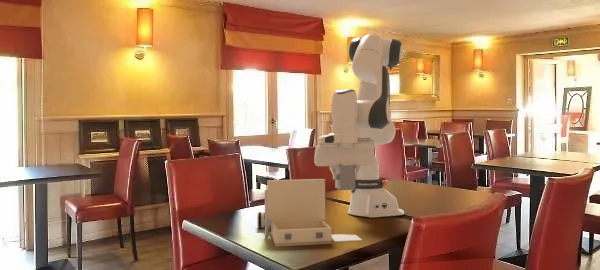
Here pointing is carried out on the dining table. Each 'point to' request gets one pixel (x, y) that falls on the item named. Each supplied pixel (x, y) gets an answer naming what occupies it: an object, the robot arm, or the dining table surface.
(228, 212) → the dining table surface
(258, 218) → the camera
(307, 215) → the case
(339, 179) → the block
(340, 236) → the mat
